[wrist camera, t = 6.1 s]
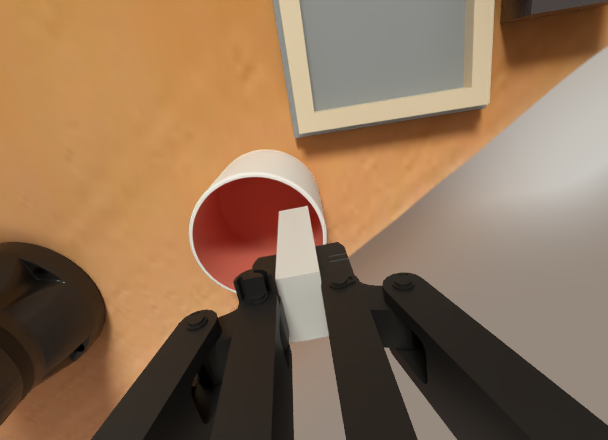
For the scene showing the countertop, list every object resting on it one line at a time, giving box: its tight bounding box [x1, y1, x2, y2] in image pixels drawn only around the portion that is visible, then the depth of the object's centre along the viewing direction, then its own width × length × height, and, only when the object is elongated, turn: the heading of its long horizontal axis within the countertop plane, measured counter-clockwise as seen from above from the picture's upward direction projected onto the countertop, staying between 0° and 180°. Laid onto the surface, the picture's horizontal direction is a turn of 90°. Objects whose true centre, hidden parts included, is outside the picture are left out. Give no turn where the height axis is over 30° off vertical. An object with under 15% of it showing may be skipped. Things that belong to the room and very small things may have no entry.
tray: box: [273, 0, 495, 138], centre depth 27 cm, size 17×17×3 cm
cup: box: [189, 150, 327, 293], centre depth 29 cm, size 10×10×10 cm
